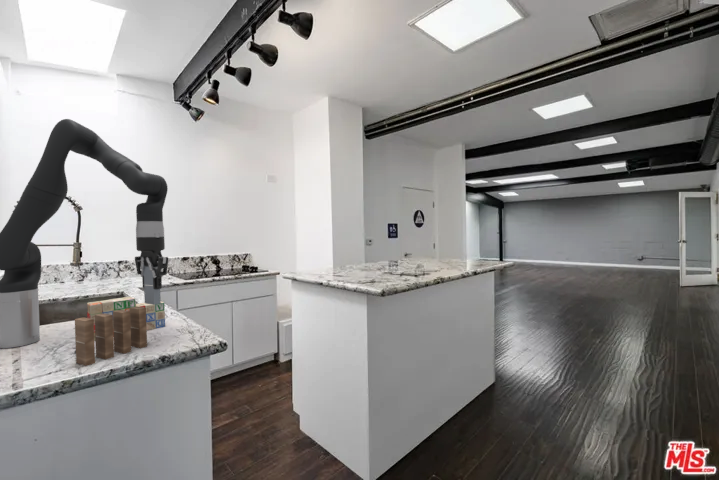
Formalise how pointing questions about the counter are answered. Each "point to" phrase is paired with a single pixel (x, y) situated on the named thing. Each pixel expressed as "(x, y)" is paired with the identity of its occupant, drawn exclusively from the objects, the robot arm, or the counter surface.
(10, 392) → the counter surface
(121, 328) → the domino
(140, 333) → the domino
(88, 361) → the domino
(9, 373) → the counter surface
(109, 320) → the domino
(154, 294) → the domino
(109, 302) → the stack of blocks
